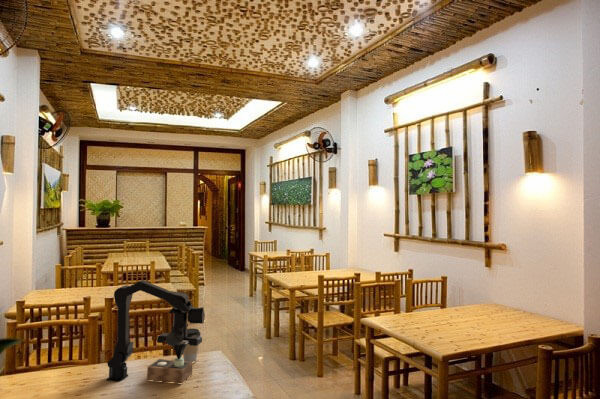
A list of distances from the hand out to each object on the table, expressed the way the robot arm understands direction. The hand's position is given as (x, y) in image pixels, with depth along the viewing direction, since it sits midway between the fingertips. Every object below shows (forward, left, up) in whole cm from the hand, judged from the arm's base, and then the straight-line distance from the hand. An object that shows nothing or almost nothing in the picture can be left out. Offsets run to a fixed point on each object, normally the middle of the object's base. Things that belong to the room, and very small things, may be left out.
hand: (179, 358), depth 179 cm
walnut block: (-4, 0, -9) cm, 10 cm away
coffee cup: (-4, +20, -9) cm, 22 cm away
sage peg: (0, 0, -6) cm, 6 cm away
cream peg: (-8, 0, -9) cm, 12 cm away
